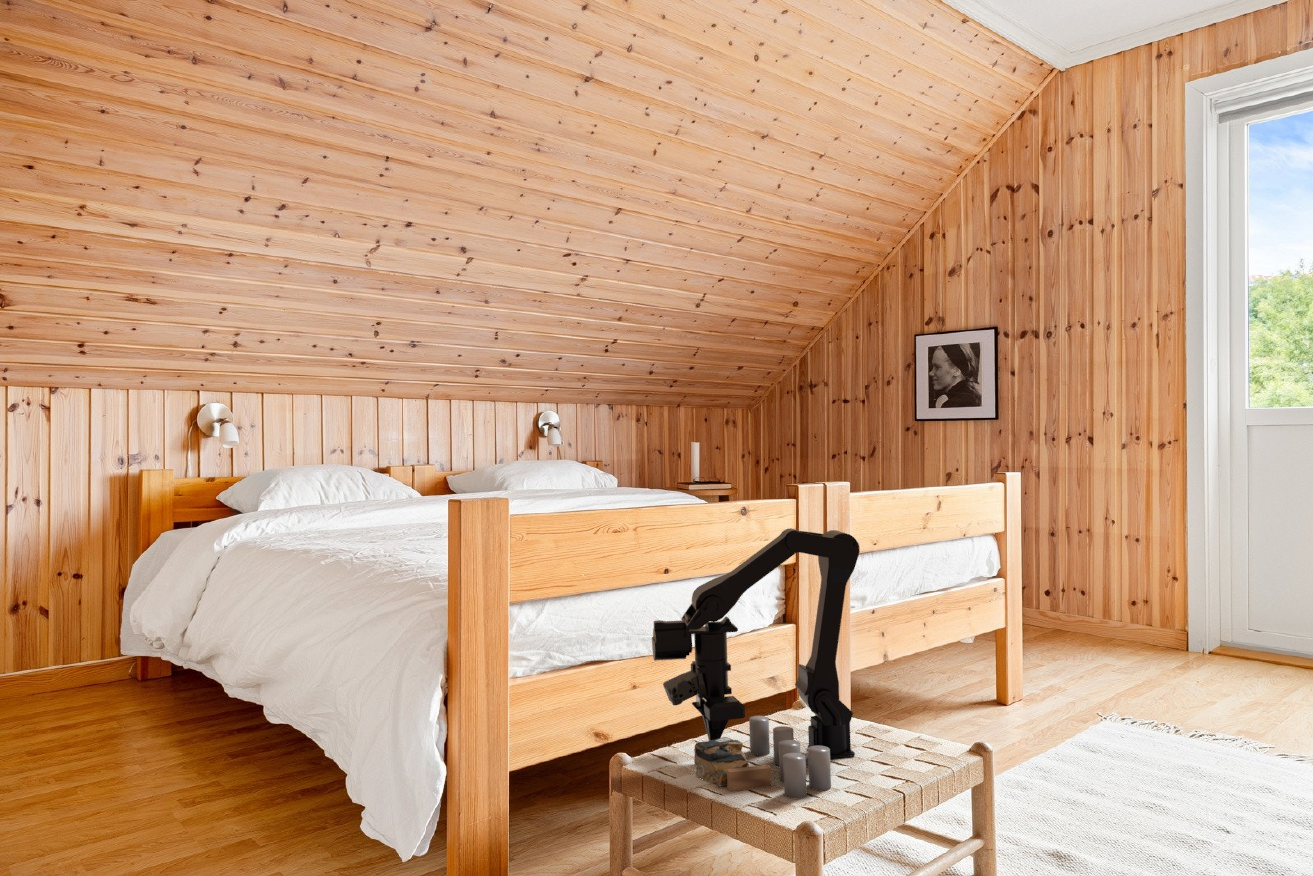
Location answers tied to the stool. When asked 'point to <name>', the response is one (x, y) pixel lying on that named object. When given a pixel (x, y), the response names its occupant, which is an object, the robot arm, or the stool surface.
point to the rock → (718, 759)
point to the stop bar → (748, 777)
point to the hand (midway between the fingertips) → (713, 745)
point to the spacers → (791, 758)
